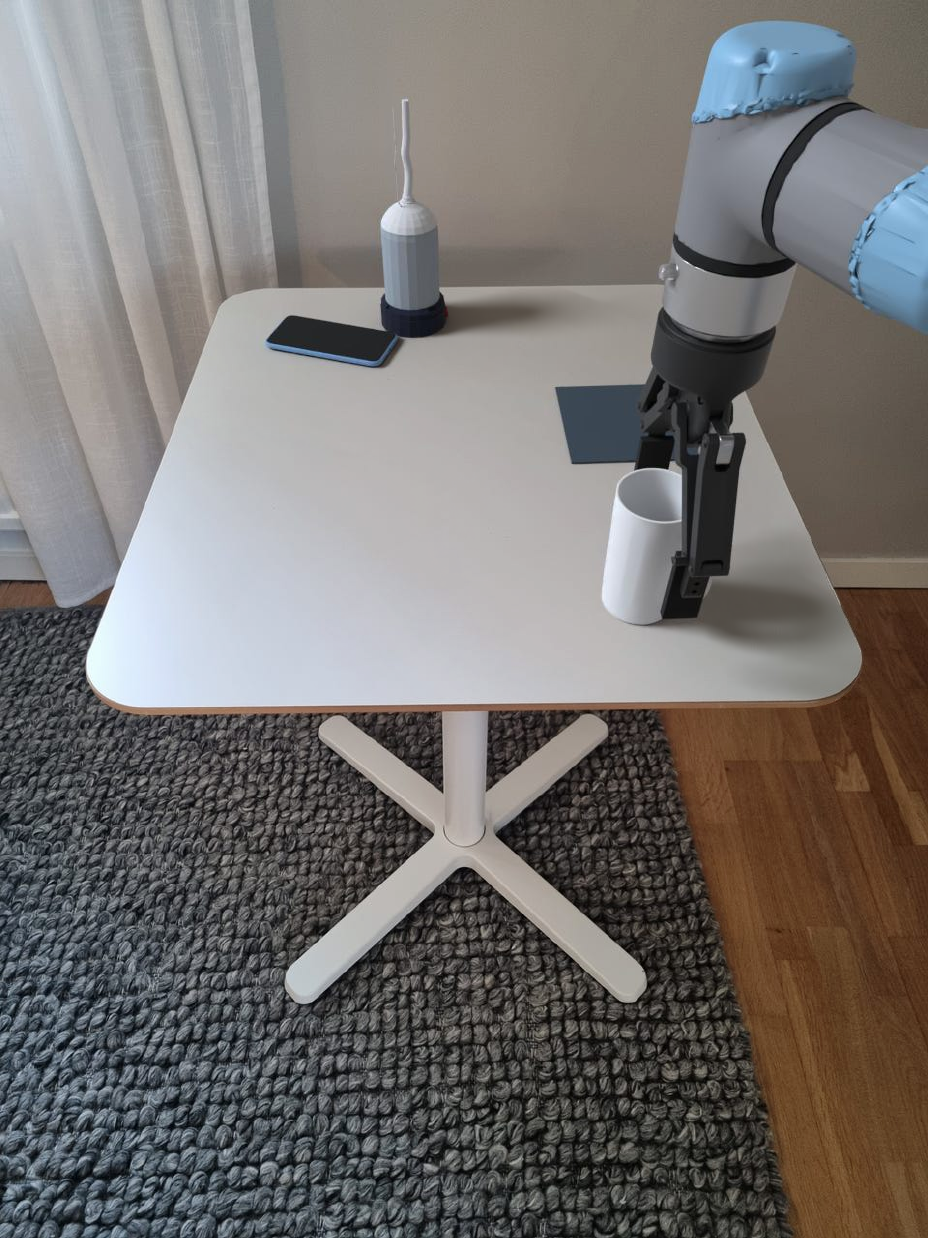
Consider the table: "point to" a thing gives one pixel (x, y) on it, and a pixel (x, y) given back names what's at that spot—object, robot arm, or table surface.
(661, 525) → the mug
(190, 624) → the table surface
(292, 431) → the table surface
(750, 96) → the robot arm
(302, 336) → the smartphone
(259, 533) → the table surface
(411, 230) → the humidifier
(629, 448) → the mat
